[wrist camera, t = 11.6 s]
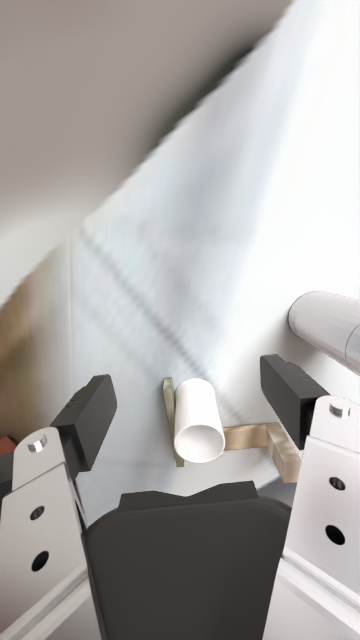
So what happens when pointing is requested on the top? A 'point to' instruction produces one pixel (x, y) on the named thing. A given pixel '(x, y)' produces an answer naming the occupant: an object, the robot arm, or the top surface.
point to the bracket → (246, 439)
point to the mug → (197, 422)
